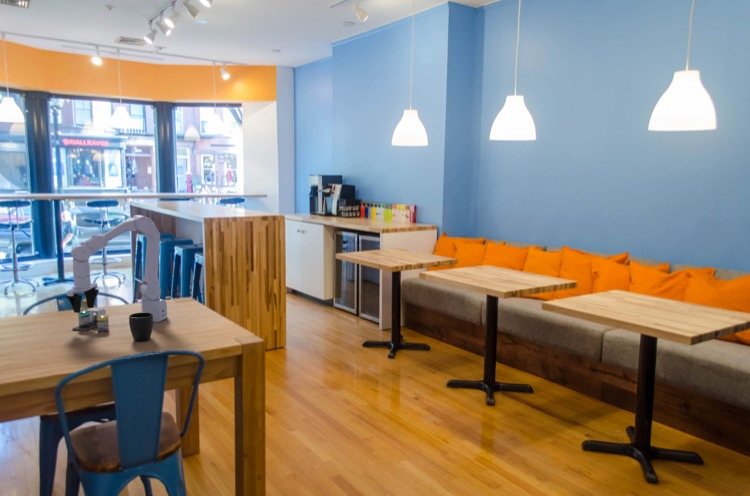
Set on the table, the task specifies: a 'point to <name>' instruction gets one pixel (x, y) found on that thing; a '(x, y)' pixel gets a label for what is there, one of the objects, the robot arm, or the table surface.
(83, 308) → the hand bell
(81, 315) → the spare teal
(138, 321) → the mug
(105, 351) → the table surface
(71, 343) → the table surface
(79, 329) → the pad
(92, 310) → the control box
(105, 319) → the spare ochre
